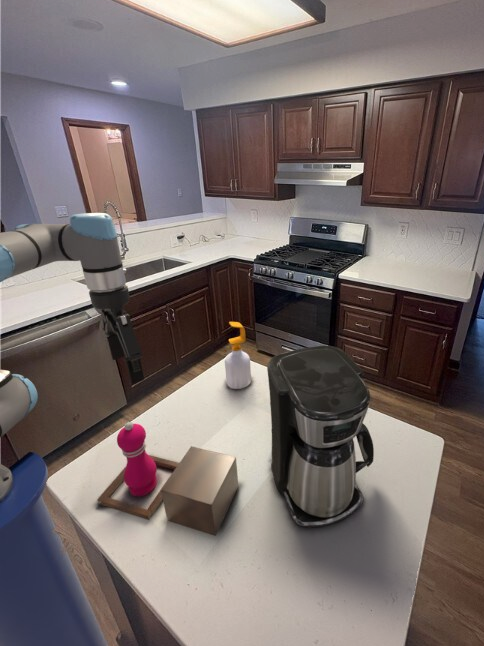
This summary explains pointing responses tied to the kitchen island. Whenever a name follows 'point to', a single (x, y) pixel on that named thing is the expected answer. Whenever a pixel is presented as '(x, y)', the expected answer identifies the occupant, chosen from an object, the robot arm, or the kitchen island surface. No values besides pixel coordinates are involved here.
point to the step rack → (188, 491)
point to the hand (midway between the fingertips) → (127, 368)
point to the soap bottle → (237, 362)
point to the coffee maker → (318, 432)
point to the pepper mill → (137, 460)
